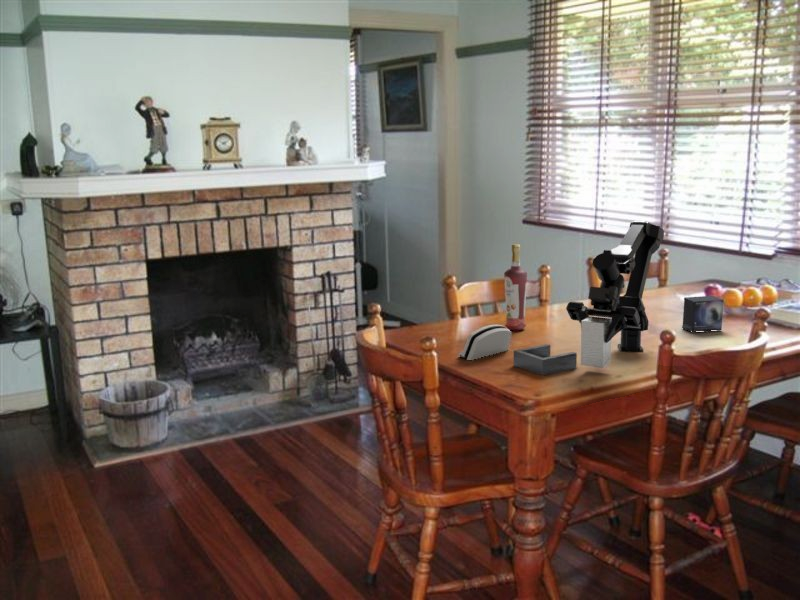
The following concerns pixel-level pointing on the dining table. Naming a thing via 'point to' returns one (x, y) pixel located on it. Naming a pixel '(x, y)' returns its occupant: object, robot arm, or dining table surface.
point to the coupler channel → (543, 360)
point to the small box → (702, 313)
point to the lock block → (595, 342)
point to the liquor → (515, 292)
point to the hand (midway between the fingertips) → (594, 340)
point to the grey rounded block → (486, 342)
